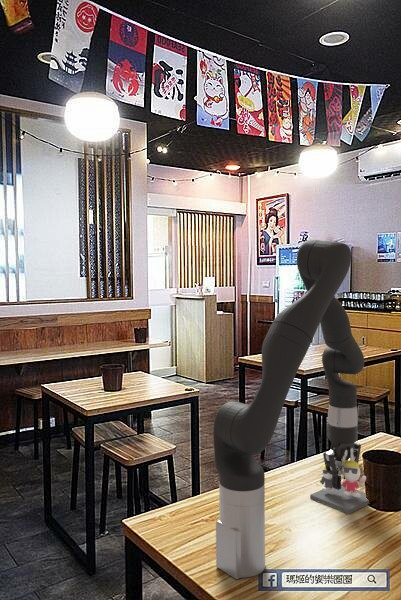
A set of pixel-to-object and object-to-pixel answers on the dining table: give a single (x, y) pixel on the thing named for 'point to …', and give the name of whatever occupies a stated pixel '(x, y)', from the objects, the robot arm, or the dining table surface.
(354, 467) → the toy figures
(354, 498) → the mat
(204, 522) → the dining table surface
